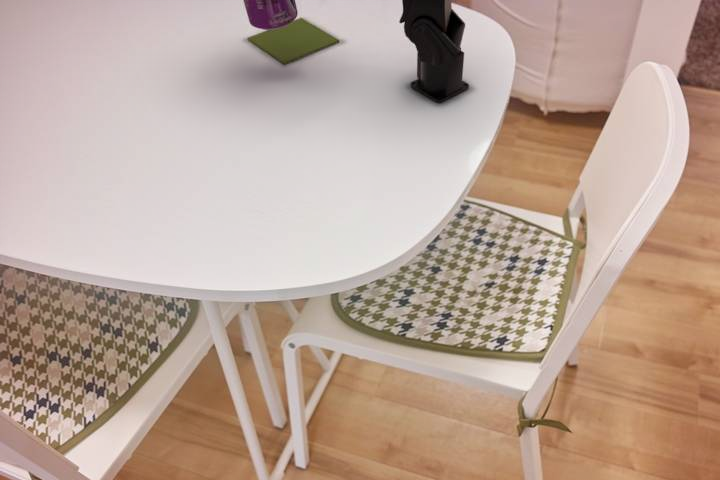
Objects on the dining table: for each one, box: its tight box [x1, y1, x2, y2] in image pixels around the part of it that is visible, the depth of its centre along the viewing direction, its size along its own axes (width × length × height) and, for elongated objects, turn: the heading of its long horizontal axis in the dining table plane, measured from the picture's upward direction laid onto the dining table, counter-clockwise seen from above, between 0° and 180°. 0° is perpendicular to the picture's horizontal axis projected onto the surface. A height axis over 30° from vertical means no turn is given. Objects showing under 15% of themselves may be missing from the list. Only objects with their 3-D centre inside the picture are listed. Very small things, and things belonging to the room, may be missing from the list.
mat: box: [247, 17, 340, 65], centre depth 102 cm, size 11×11×1 cm
